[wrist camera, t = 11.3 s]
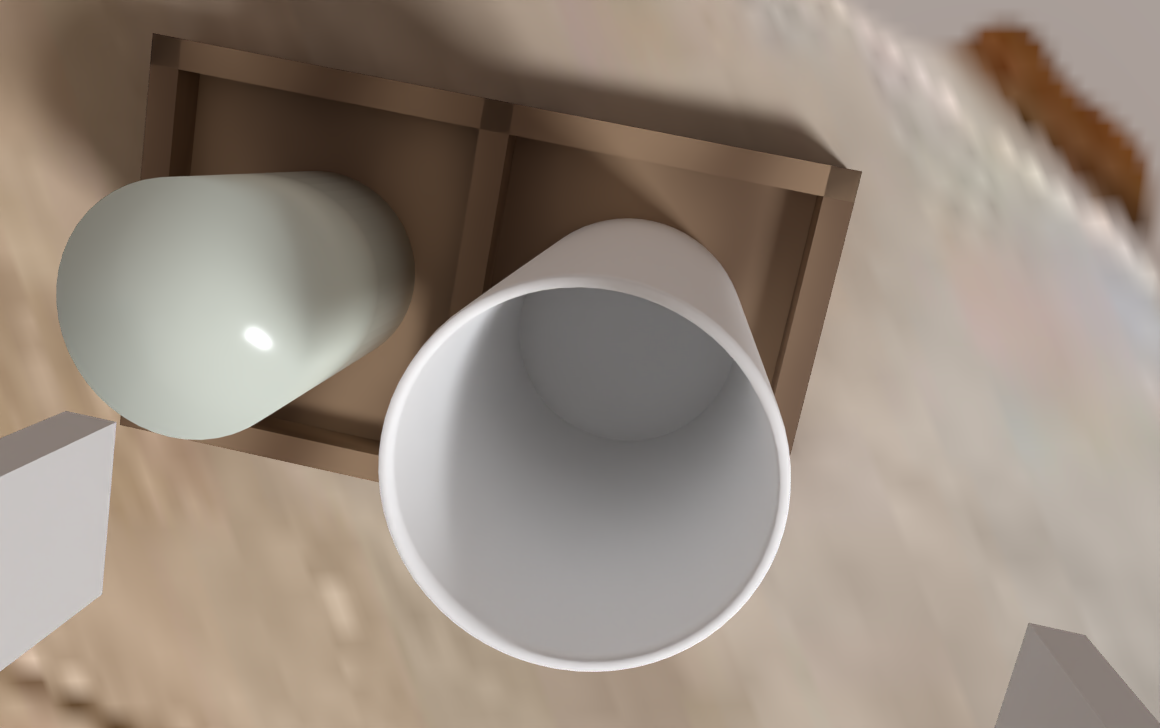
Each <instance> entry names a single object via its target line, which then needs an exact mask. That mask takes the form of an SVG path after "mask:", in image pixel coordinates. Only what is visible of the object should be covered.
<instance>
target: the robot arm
mask: <svg viewBox="0 0 1160 728" xmlns="http://www.w3.org/2000/svg"><path fill="white" fill-rule="evenodd" d="M115 432H116V422H114V421H109V420H105V419H100V418H96V417H91V416H87V415H82V414H77V413H73V412H68V411H65V412H63V413H60V414H58V415H55V416H53V417H51V418H48V419H46V420H43V421H41V422H38V423H36V424H34V425H31V426H29V427H26V428H24V429H22V430H19V431H17V432H14V433H12V434H10V435H7V436H5V437H2V438H0V671H1V670H3V669H4V668H5V667H7V666H8V665H9V664H11V663H12V662H13V661H14V660H16V659H17V658H18V657H20V656H21V655H22V654H24V653H25V652H26V651H28V650H29V649H30V648H32V647H33V646H34V645H36V644H37V643H38V642H40V641H41V640H42V639H44V638H45V637H46V636H47V635H49V634H50V633H51V632H53V631H54V630H55V629H57V628H58V627H59V626H61V625H62V624H63V623H65V622H66V621H67V620H69V619H70V618H71V617H73V616H74V615H75V614H76V613H78V612H79V611H80V610H82V609H83V608H84V607H86V606H87V605H88V604H90V603H91V602H92V601H94V600H95V599H96V598H98V597H99V596H100V595H102V587H103V575H104V563H105V551H106V539H107V528H108V516H109V504H110V492H111V480H112V468H113V456H114V444H115ZM995 728H1160V723H1159V722H1158V721H1157V720H1156V719H1155V717H1154V716H1153V715H1152V714H1151V713H1150V711H1149V710H1148V709H1147V708H1146V707H1145V705H1144V704H1143V703H1142V702H1141V701H1140V700H1139V698H1138V697H1137V696H1136V695H1135V694H1134V692H1133V691H1132V690H1131V689H1130V688H1129V687H1128V685H1127V684H1126V683H1125V682H1124V681H1123V679H1122V678H1121V677H1120V676H1119V675H1118V673H1117V672H1116V671H1115V670H1114V669H1113V668H1112V666H1111V665H1110V664H1109V663H1108V662H1107V660H1106V659H1105V658H1104V657H1103V656H1102V654H1101V653H1100V652H1099V651H1098V650H1097V649H1096V647H1095V646H1094V645H1093V644H1092V643H1091V641H1090V640H1089V639H1088V638H1087V637H1086V635H1082V634H1077V633H1073V632H1068V631H1064V630H1059V629H1055V628H1050V627H1046V626H1041V625H1036V624H1032V623H1029V624H1028V627H1027V630H1026V633H1025V636H1024V639H1023V642H1022V645H1021V648H1020V651H1019V654H1018V657H1017V660H1016V663H1015V667H1014V670H1013V673H1012V676H1011V679H1010V682H1009V685H1008V688H1007V691H1006V694H1005V697H1004V700H1003V703H1002V706H1001V709H1000V712H999V715H998V719H997V722H996V725H995Z"/></svg>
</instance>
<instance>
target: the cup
mask: <svg viewBox="0 0 1160 728" xmlns="http://www.w3.org/2000/svg"><path fill="white" fill-rule="evenodd" d="M378 475H379V487H380V495H381V501H382V506H383V511H384V515H385V518H386V522H387V525H388V529H389V532H390V534H391V537H392V539H393V542H394V544H395V547H396V549H397V551H398V553H399V555H400V557H401V559H402V560H403V562H404V564H405V566H406V568H407V569H408V571H409V572H410V574H411V575H412V577H413V579H414V580H415V581H416V583H417V584H418V585H419V587H420V588H421V589H422V590H423V592H424V593H425V594H426V596H427V597H428V598H429V599H430V600H431V601H432V602H433V603H434V604H435V605H436V606H437V607H438V609H439V610H441V611H442V612H443V613H444V614H445V615H446V616H447V617H448V618H449V619H451V620H452V621H453V622H454V623H455V624H457V625H458V626H459V627H461V628H462V629H463V630H465V631H466V632H467V633H469V634H470V635H472V636H473V637H475V638H477V639H478V640H480V641H482V642H483V643H485V644H487V645H489V646H491V647H493V648H495V649H497V650H499V651H501V652H503V653H505V654H508V655H510V656H513V657H515V658H518V659H520V660H523V661H527V662H530V663H533V664H537V665H541V666H546V667H550V668H555V669H562V670H571V671H589V672H599V671H614V670H622V669H628V668H634V667H638V666H642V665H646V664H650V663H654V662H657V661H659V660H662V659H665V658H668V657H671V656H673V655H675V654H677V653H679V652H682V651H684V650H686V649H688V648H690V647H692V646H693V645H695V644H697V643H698V642H700V641H702V640H703V639H705V638H707V637H708V636H709V635H711V634H712V633H713V632H715V631H716V630H717V629H719V628H720V627H722V626H723V625H724V624H725V623H726V622H727V621H728V620H729V619H730V618H732V617H733V616H734V615H735V614H736V613H737V612H738V611H739V610H740V608H741V607H742V606H743V605H744V604H745V603H746V602H747V601H748V600H749V598H750V597H751V596H752V594H753V593H754V591H755V590H756V589H757V587H758V586H759V585H760V583H761V581H762V580H763V578H764V576H765V575H766V573H767V571H768V570H769V568H770V566H771V564H772V561H773V559H774V557H775V555H776V553H777V550H778V548H779V545H780V542H781V539H782V536H783V533H784V529H785V524H786V520H787V515H788V509H789V500H790V484H791V465H790V455H789V446H788V441H787V436H786V431H785V427H784V424H783V420H782V417H781V414H780V411H779V408H778V405H777V402H776V399H775V396H774V394H773V391H772V388H771V385H770V382H769V380H768V377H767V374H766V371H765V369H764V366H763V363H762V361H761V358H760V355H759V352H758V350H757V347H756V344H755V342H754V339H753V336H752V333H751V331H750V328H749V325H748V323H747V320H746V317H745V314H744V312H743V309H742V306H741V303H740V301H739V298H738V295H737V293H736V290H735V288H734V286H733V283H732V282H731V280H730V278H729V276H728V274H727V273H726V271H725V270H724V268H723V267H722V265H721V264H720V263H719V262H718V260H717V259H716V258H715V257H714V256H713V255H712V254H711V253H710V252H709V251H708V250H707V249H706V248H705V247H704V246H703V245H701V244H700V243H699V242H698V241H696V240H695V239H693V238H692V237H690V236H689V235H687V234H685V233H683V232H681V231H679V230H677V229H675V228H673V227H670V226H668V225H665V224H662V223H658V222H655V221H650V220H644V219H633V218H622V219H611V220H605V221H601V222H596V223H593V224H590V225H587V226H584V227H582V228H580V229H578V230H576V231H574V232H572V233H570V234H568V235H567V236H565V237H563V238H562V239H561V240H559V241H558V242H556V243H555V244H553V245H552V246H551V247H549V248H548V249H546V250H545V251H543V252H542V253H541V254H539V255H538V256H536V257H535V258H533V259H532V260H531V261H529V262H528V263H526V264H525V265H523V266H522V267H521V268H519V269H518V270H516V271H515V272H513V273H512V274H511V275H509V276H508V277H506V278H505V279H503V280H502V281H501V282H499V283H498V284H496V285H495V286H493V287H492V288H491V289H489V290H488V291H486V292H485V293H484V294H482V295H481V296H479V297H478V298H477V299H475V300H474V301H472V302H471V303H470V304H468V305H467V306H465V307H464V308H463V309H461V310H460V311H459V312H457V313H456V314H454V315H453V316H452V317H451V318H449V319H448V320H447V321H446V322H445V323H444V324H443V325H442V326H440V327H439V328H438V329H437V330H436V331H435V332H434V333H433V335H432V336H431V337H430V338H429V339H428V340H427V341H426V342H425V343H424V345H423V346H422V347H421V349H420V350H419V351H418V353H417V354H416V355H415V357H414V358H413V360H412V361H411V362H410V364H409V366H408V367H407V369H406V371H405V372H404V374H403V376H402V378H401V379H400V381H399V383H398V385H397V387H396V390H395V392H394V394H393V396H392V398H391V401H390V404H389V407H388V410H387V413H386V416H385V420H384V424H383V429H382V433H381V439H380V448H379V467H378Z"/></svg>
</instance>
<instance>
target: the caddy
mask: <svg viewBox="0 0 1160 728" xmlns="http://www.w3.org/2000/svg"><path fill="white" fill-rule="evenodd" d="M298 171H325V172H333V173H337V174H341V175H344V176H347V177H350V178H352V179H354V180H357V181H359V182H360V183H362V184H364V185H366V186H367V187H369V188H370V189H372V190H373V191H374V192H375V193H377V194H378V195H379V196H380V197H381V198H382V199H383V200H384V201H385V202H386V203H387V204H388V205H389V206H390V207H391V208H392V210H393V211H394V212H395V213H396V215H397V216H398V218H399V220H400V221H401V223H402V225H403V226H404V229H405V231H406V233H407V235H408V238H409V241H410V244H411V247H412V251H413V257H414V263H415V283H414V291H413V295H412V300H411V303H410V305H409V308H408V311H407V313H406V315H405V317H404V319H403V321H402V322H401V324H400V325H399V327H398V328H397V329H396V331H395V332H394V333H393V334H392V335H391V336H390V337H389V338H388V339H387V341H385V342H384V343H383V344H382V345H380V346H379V347H378V348H376V349H375V350H373V351H371V352H370V353H368V354H367V355H365V356H363V357H362V358H360V359H359V360H357V361H355V362H354V363H352V364H351V365H349V366H347V367H346V368H344V369H343V370H341V371H339V372H338V373H336V374H335V375H333V376H331V377H330V378H328V379H327V380H325V381H323V382H322V383H320V384H319V385H317V386H315V387H314V388H312V389H311V390H309V391H307V392H306V393H304V394H303V395H301V396H299V397H298V398H296V399H295V400H293V401H291V402H290V403H288V404H287V405H285V406H283V407H282V408H280V409H279V410H277V411H275V412H274V413H272V414H271V415H269V416H267V417H266V418H264V419H262V420H261V421H259V422H257V423H256V424H254V425H252V426H251V427H249V428H247V429H245V430H242V431H240V432H237V433H235V434H232V435H228V436H224V437H220V438H214V439H205V440H191V439H186V440H191V441H195V442H200V443H204V444H209V445H213V446H218V447H222V448H227V449H231V450H236V451H240V452H245V453H249V454H254V455H258V456H263V457H267V458H272V459H276V460H281V461H285V462H290V463H294V464H299V465H303V466H308V467H312V468H317V469H322V470H326V471H331V472H335V473H340V474H344V475H349V476H353V477H358V478H362V479H367V480H371V481H376V482H379V475H378V467H379V448H380V439H381V433H382V429H383V424H384V420H385V416H386V413H387V410H388V407H389V404H390V401H391V398H392V396H393V394H394V392H395V390H396V387H397V385H398V383H399V381H400V379H401V378H402V376H403V374H404V372H405V371H406V369H407V367H408V366H409V364H410V362H411V361H412V360H413V358H414V357H415V355H416V354H417V353H418V351H419V350H420V349H421V347H422V346H423V345H424V343H425V342H426V341H427V340H428V339H429V338H430V337H431V336H432V335H433V333H434V332H435V331H436V330H437V329H438V328H439V327H440V326H442V325H443V324H444V323H445V322H446V321H447V320H448V319H449V318H451V317H452V316H453V315H454V314H456V313H457V312H459V311H460V310H461V309H463V308H464V307H465V306H467V305H468V304H470V303H471V302H472V301H474V300H475V299H477V298H478V297H479V296H481V295H482V294H484V293H485V292H486V291H488V290H489V289H491V288H492V287H493V286H495V285H496V284H498V283H499V282H501V281H502V280H503V279H505V278H506V277H508V276H509V275H511V274H512V273H513V272H515V271H516V270H518V269H519V268H521V267H522V266H523V265H525V264H526V263H528V262H529V261H531V260H532V259H533V258H535V257H536V256H538V255H539V254H541V253H542V252H543V251H545V250H546V249H548V248H549V247H551V246H552V245H553V244H555V243H556V242H558V241H559V240H561V239H562V238H563V237H565V236H567V235H568V234H570V233H572V232H574V231H576V230H578V229H580V228H582V227H584V226H587V225H590V224H593V223H596V222H601V221H605V220H611V219H622V218H633V219H644V220H650V221H655V222H658V223H662V224H665V225H668V226H670V227H673V228H675V229H677V230H679V231H681V232H683V233H685V234H687V235H689V236H690V237H692V238H693V239H695V240H696V241H698V242H699V243H700V244H701V245H703V246H704V247H705V248H706V249H707V250H708V251H709V252H710V253H711V254H712V255H713V256H714V257H715V258H716V259H717V260H718V262H719V263H720V264H721V265H722V267H723V268H724V270H725V271H726V273H727V274H728V276H729V278H730V280H731V282H732V283H733V286H734V288H735V290H736V293H737V295H738V298H739V301H740V303H741V306H742V309H743V312H744V314H745V317H746V320H747V323H748V325H749V328H750V331H751V333H752V336H753V339H754V342H755V344H756V347H757V350H758V352H759V355H760V358H761V361H762V363H763V366H764V369H765V371H766V374H767V377H768V380H769V382H770V385H771V388H772V391H773V394H774V396H775V399H776V402H777V405H778V408H779V411H780V414H781V417H782V420H783V424H784V427H785V431H786V436H787V441H788V446H789V455H790V454H791V450H792V446H793V442H794V438H795V434H796V430H797V426H798V422H799V418H800V414H801V410H802V406H803V403H804V399H805V395H806V391H807V387H808V383H809V379H810V375H811V371H812V367H813V363H814V359H815V355H816V351H817V347H818V343H819V339H820V336H821V332H822V328H823V324H824V320H825V316H826V312H827V308H828V304H829V300H830V296H831V292H832V288H833V284H834V280H835V276H836V272H837V269H838V265H839V261H840V257H841V253H842V249H843V245H844V241H845V237H846V233H847V229H848V225H849V221H850V217H851V213H852V209H853V205H854V201H855V198H856V194H857V190H858V186H859V182H860V178H861V174H862V171H856V170H851V169H846V168H841V167H836V166H831V165H826V164H821V163H815V162H810V161H805V160H800V159H795V158H790V157H785V156H780V155H774V154H769V153H764V152H759V151H754V150H749V149H744V148H739V147H733V146H728V145H723V144H718V143H713V142H708V141H703V140H698V139H692V138H687V137H682V136H677V135H672V134H667V133H662V132H656V131H651V130H646V129H641V128H636V127H631V126H626V125H621V124H615V123H610V122H605V121H600V120H595V119H590V118H585V117H580V116H574V115H569V114H564V113H559V112H554V111H549V110H544V109H539V108H533V107H528V106H523V105H518V104H513V103H508V102H503V101H498V100H492V99H487V98H482V97H477V96H472V95H467V94H462V93H457V92H451V91H446V90H441V89H436V88H431V87H426V86H421V85H415V84H410V83H405V82H400V81H395V80H390V79H385V78H380V77H374V76H369V75H364V74H359V73H354V72H349V71H344V70H339V69H333V68H328V67H323V66H318V65H313V64H308V63H303V62H298V61H292V60H287V59H282V58H277V57H272V56H267V55H262V54H257V53H251V52H246V51H241V50H236V49H231V48H226V47H221V46H215V45H210V44H205V43H200V42H195V41H190V40H185V39H180V38H174V37H169V36H164V35H159V34H154V33H153V38H152V50H151V62H150V74H149V86H148V98H147V110H146V122H145V133H144V145H143V157H142V169H141V180H145V179H152V178H159V177H178V176H202V175H226V174H250V173H274V172H298ZM120 425H123V426H128V427H132V428H137V429H141V430H146V431H150V430H147V429H145V428H143V427H140V426H138V425H136V424H135V423H133V422H131V421H129V420H128V419H126V418H124V417H123V416H121V419H120ZM150 432H152V431H150Z"/></svg>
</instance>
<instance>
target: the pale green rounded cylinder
mask: <svg viewBox="0 0 1160 728" xmlns="http://www.w3.org/2000/svg"><path fill="white" fill-rule="evenodd" d="M414 283H415V263H414V257H413V251H412V247H411V244H410V241H409V238H408V235H407V233H406V231H405V229H404V226H403V225H402V223H401V221H400V220H399V218H398V216H397V215H396V213H395V212H394V211H393V210H392V208H391V207H390V206H389V205H388V204H387V203H386V202H385V201H384V200H383V199H382V198H381V197H380V196H379V195H378V194H377V193H375V192H374V191H373V190H372V189H370V188H369V187H367V186H366V185H364V184H362V183H360V182H359V181H357V180H354V179H352V178H350V177H347V176H344V175H341V174H337V173H333V172H325V171H298V172H274V173H250V174H226V175H202V176H178V177H159V178H152V179H145V180H141V181H138V182H135V183H131V184H128V185H126V186H124V187H122V188H120V189H117V190H115V191H113V192H112V193H110V194H109V195H107V196H106V197H104V198H103V199H101V200H100V201H99V202H98V203H97V204H95V205H94V206H93V207H92V208H91V209H90V210H89V211H88V212H87V213H86V214H85V216H84V217H83V218H82V219H81V220H80V222H79V223H78V224H77V226H76V228H75V229H74V231H73V233H72V234H71V236H70V238H69V240H68V242H67V245H66V247H65V249H64V252H63V255H62V259H61V262H60V266H59V271H58V278H57V310H58V319H59V323H60V327H61V331H62V335H63V338H64V341H65V343H66V346H67V349H68V351H69V354H70V356H71V357H72V359H73V361H74V363H75V365H76V367H77V369H78V370H79V372H80V373H81V375H82V376H83V378H84V379H85V381H86V382H87V383H88V385H89V386H90V387H91V388H92V389H93V390H94V392H95V393H96V394H97V395H98V396H99V397H100V398H101V399H102V400H103V401H104V402H105V403H106V404H107V405H108V406H109V407H111V408H112V409H113V410H115V411H116V412H117V413H119V414H120V415H121V416H123V417H124V418H126V419H128V420H129V421H131V422H133V423H135V424H136V425H138V426H140V427H143V428H145V429H147V430H150V431H152V432H155V433H158V434H162V435H165V436H168V437H174V438H180V439H191V440H205V439H214V438H220V437H224V436H228V435H232V434H235V433H237V432H240V431H242V430H245V429H247V428H249V427H251V426H252V425H254V424H256V423H257V422H259V421H261V420H262V419H264V418H266V417H267V416H269V415H271V414H272V413H274V412H275V411H277V410H279V409H280V408H282V407H283V406H285V405H287V404H288V403H290V402H291V401H293V400H295V399H296V398H298V397H299V396H301V395H303V394H304V393H306V392H307V391H309V390H311V389H312V388H314V387H315V386H317V385H319V384H320V383H322V382H323V381H325V380H327V379H328V378H330V377H331V376H333V375H335V374H336V373H338V372H339V371H341V370H343V369H344V368H346V367H347V366H349V365H351V364H352V363H354V362H355V361H357V360H359V359H360V358H362V357H363V356H365V355H367V354H368V353H370V352H371V351H373V350H375V349H376V348H378V347H379V346H380V345H382V344H383V343H384V342H385V341H387V339H388V338H389V337H390V336H391V335H392V334H393V333H394V332H395V331H396V329H397V328H398V327H399V325H400V324H401V322H402V321H403V319H404V317H405V315H406V313H407V311H408V308H409V305H410V303H411V300H412V295H413V291H414Z"/></svg>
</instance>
